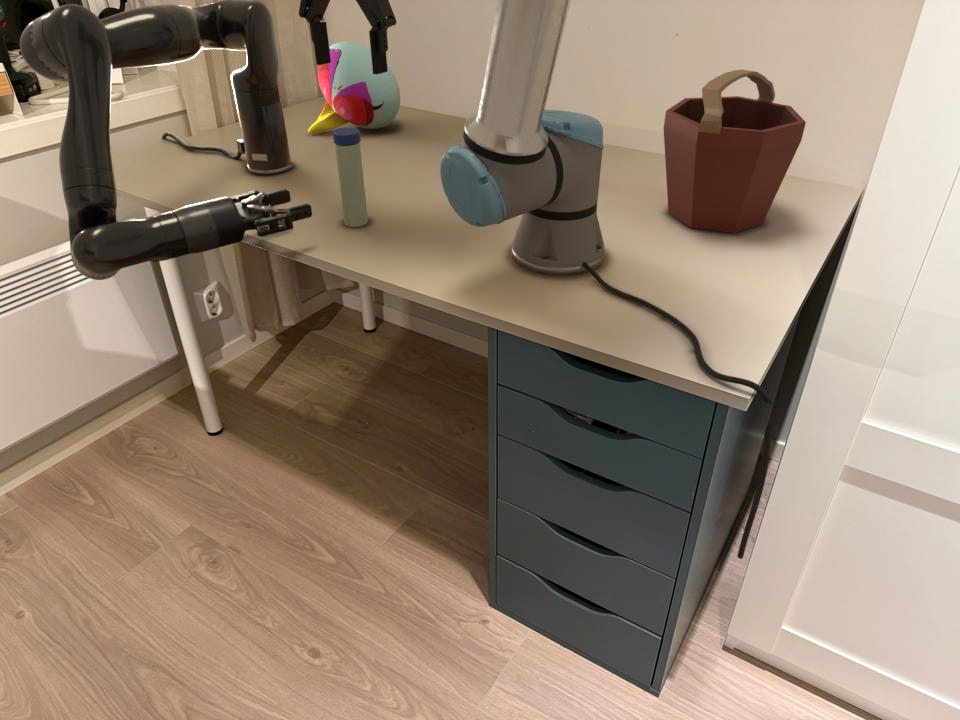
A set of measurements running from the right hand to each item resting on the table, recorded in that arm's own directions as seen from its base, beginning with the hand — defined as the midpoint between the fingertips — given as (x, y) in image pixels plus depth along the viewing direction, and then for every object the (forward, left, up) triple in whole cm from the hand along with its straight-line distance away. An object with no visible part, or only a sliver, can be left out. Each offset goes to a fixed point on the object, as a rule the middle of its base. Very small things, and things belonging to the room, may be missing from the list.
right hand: (351, 68), depth 120 cm
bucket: (-27, -59, -26) cm, 70 cm away
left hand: (-7, +13, -19) cm, 24 cm away
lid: (-4, +3, -10) cm, 11 cm away
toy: (+55, -11, -26) cm, 62 cm away
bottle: (-4, +3, -26) cm, 26 cm away
